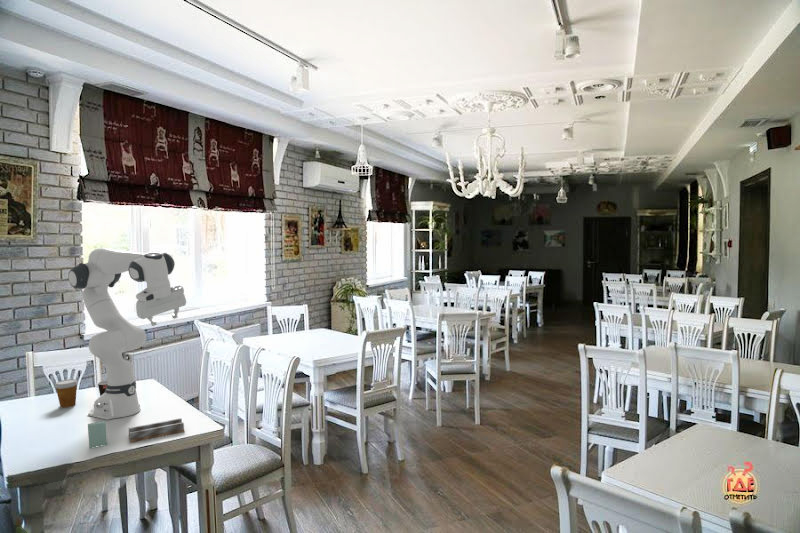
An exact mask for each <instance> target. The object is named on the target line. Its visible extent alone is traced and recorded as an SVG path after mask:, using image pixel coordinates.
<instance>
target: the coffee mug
mask: <svg viewBox="0 0 800 533" xmlns="http://www.w3.org/2000/svg"><path fill="white" fill-rule="evenodd" d="M107 384H108V383H107V379H106V380H102V381H99V382H97V387H98V392H99V397H100V396H101V395H102V394H104V393H105V389H106V388H104V387H105V385H107ZM103 386H104V387H103Z"/></svg>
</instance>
